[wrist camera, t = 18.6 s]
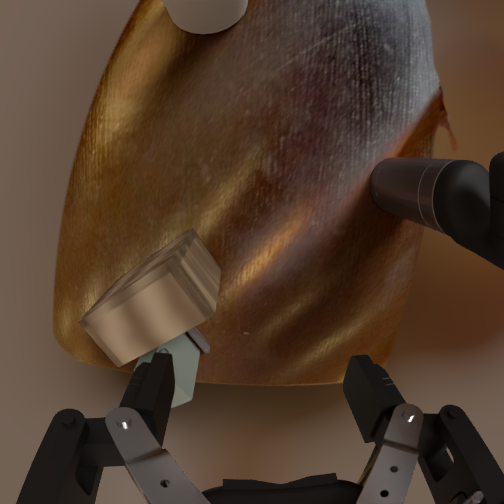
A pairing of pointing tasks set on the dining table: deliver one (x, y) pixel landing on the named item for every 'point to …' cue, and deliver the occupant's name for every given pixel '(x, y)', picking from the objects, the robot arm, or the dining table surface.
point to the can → (205, 14)
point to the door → (179, 365)
